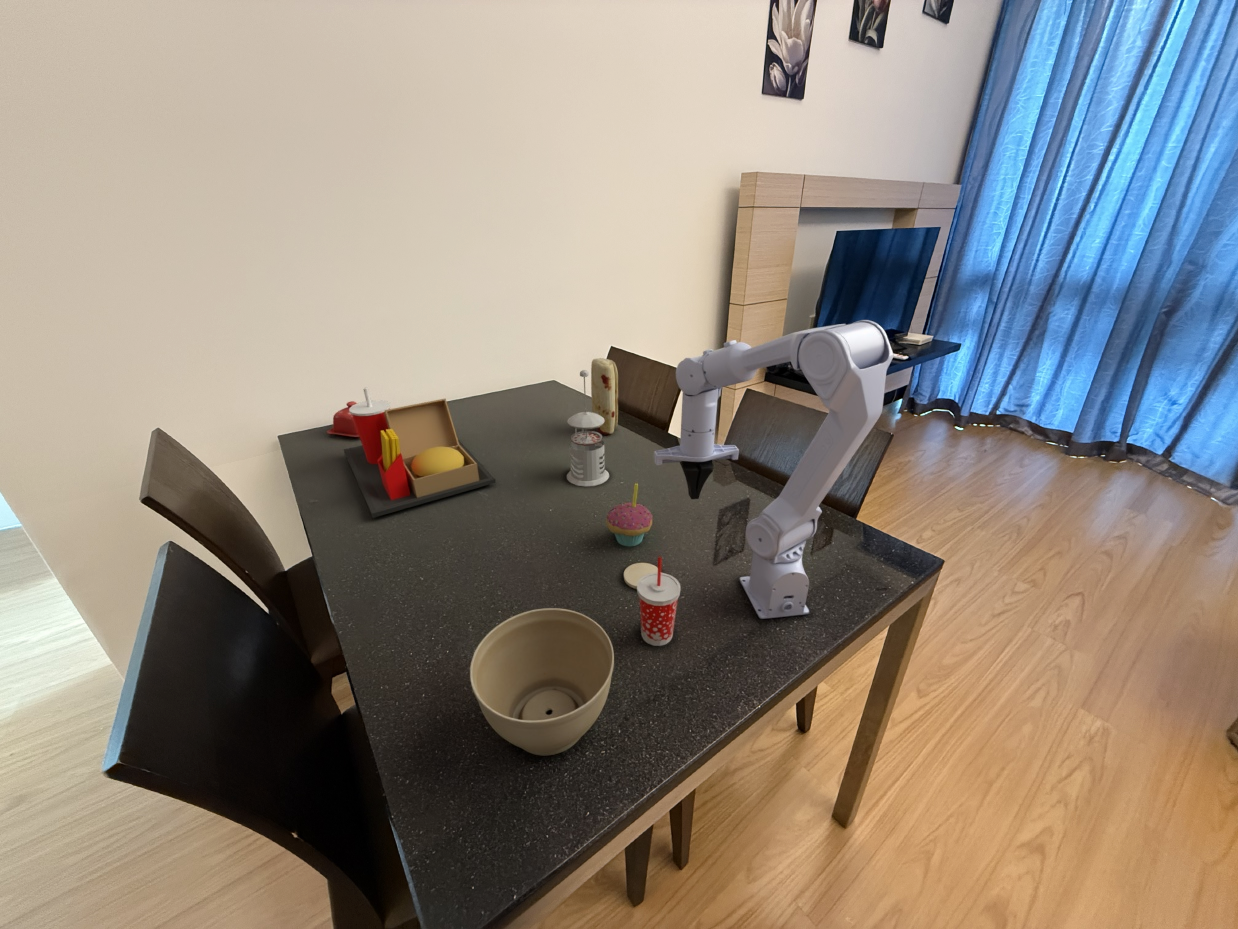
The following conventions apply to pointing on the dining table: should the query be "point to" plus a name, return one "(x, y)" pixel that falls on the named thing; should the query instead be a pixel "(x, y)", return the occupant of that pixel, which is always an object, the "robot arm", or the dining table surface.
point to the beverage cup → (658, 606)
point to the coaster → (638, 573)
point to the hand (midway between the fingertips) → (693, 496)
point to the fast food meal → (410, 455)
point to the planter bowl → (543, 678)
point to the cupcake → (629, 521)
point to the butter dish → (344, 422)
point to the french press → (586, 448)
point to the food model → (605, 393)
